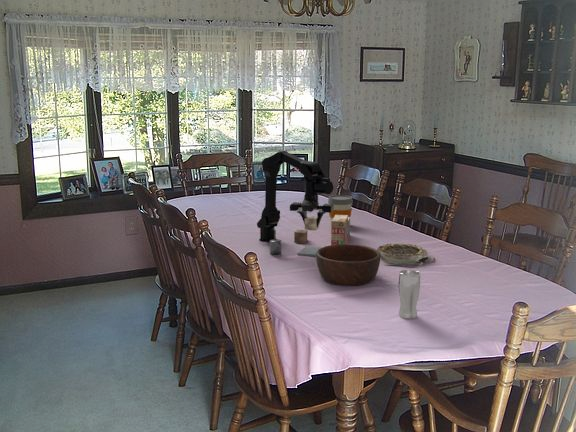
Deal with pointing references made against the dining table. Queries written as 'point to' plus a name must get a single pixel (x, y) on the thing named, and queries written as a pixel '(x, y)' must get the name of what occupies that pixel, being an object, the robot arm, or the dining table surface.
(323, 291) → the dining table surface
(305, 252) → the slate mat
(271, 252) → the dark metal cylinder
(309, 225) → the ash block
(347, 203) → the reusable coffee cup
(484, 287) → the dining table surface
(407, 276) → the beer glass
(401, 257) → the pie
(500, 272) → the dining table surface
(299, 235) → the rectangular block
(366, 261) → the wooden bowl
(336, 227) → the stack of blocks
